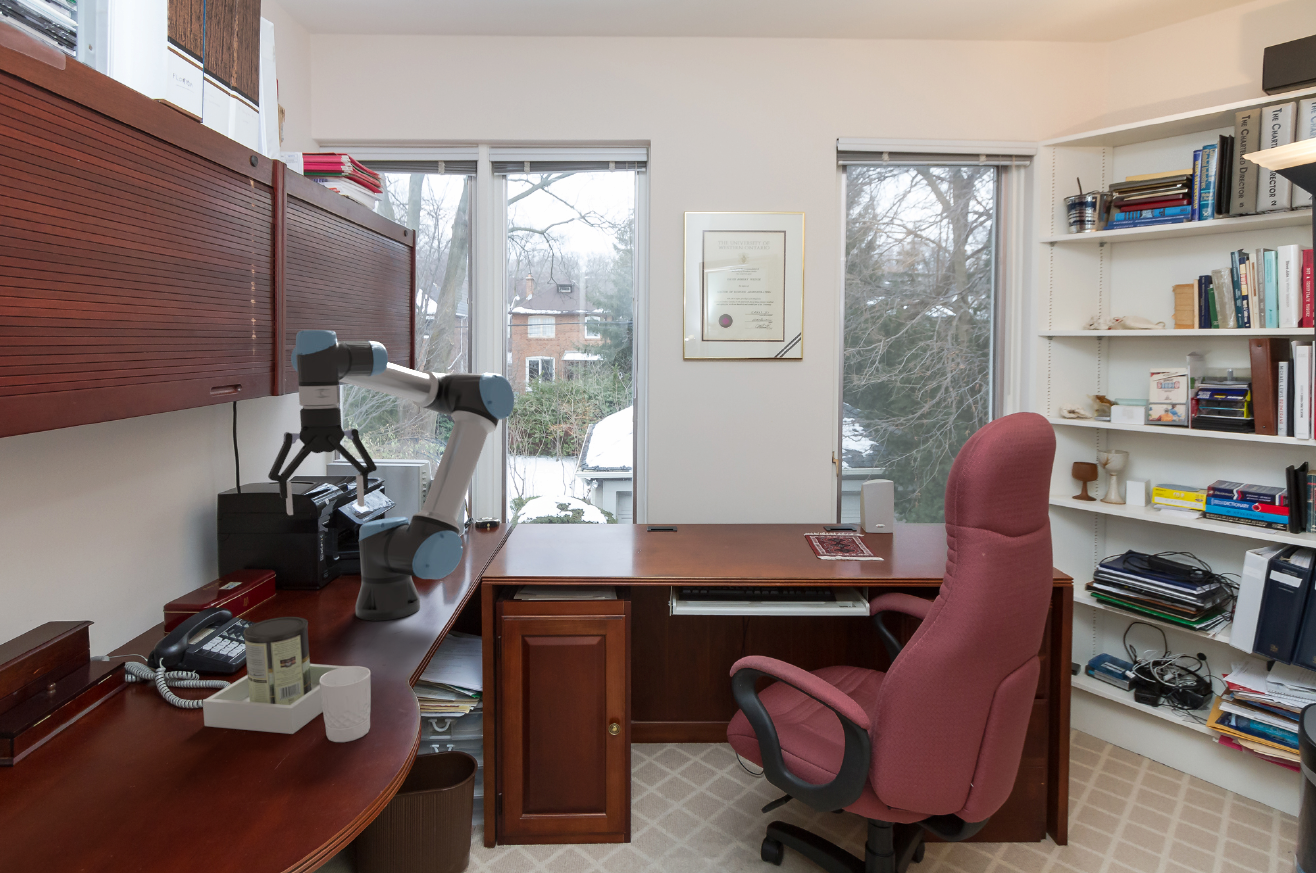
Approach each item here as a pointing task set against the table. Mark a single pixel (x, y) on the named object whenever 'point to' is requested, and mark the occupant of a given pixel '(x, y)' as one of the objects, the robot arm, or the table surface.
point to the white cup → (346, 702)
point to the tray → (264, 707)
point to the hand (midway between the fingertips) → (326, 509)
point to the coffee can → (278, 660)
